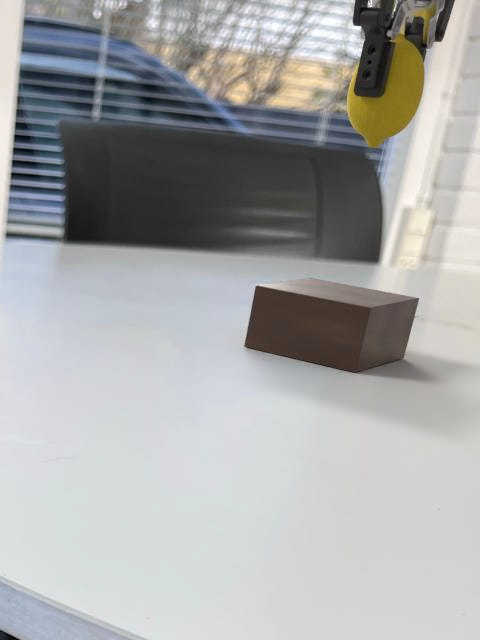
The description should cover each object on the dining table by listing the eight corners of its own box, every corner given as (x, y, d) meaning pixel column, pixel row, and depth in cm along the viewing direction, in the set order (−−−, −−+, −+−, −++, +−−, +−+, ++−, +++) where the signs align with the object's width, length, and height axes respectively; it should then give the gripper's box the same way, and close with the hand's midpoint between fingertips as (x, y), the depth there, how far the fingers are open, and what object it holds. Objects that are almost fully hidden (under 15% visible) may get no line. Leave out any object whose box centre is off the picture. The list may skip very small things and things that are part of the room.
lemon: (398, 151, 81) (426, 31, 77) (327, 143, 83) (352, 27, 80) (416, 151, 85) (444, 38, 81) (348, 144, 88) (372, 34, 84)
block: (297, 335, 96) (309, 277, 94) (404, 358, 90) (419, 298, 88) (243, 346, 89) (255, 285, 87) (355, 372, 83) (370, 307, 81)
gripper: (461, -198, 68) (393, 98, 76) (529, -148, 78) (463, 108, 86) (351, -189, 72) (298, 90, 80) (430, -143, 82) (376, 101, 90)
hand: (384, 98), depth 83 cm, fingers closed on lemon, 5 cm apart
